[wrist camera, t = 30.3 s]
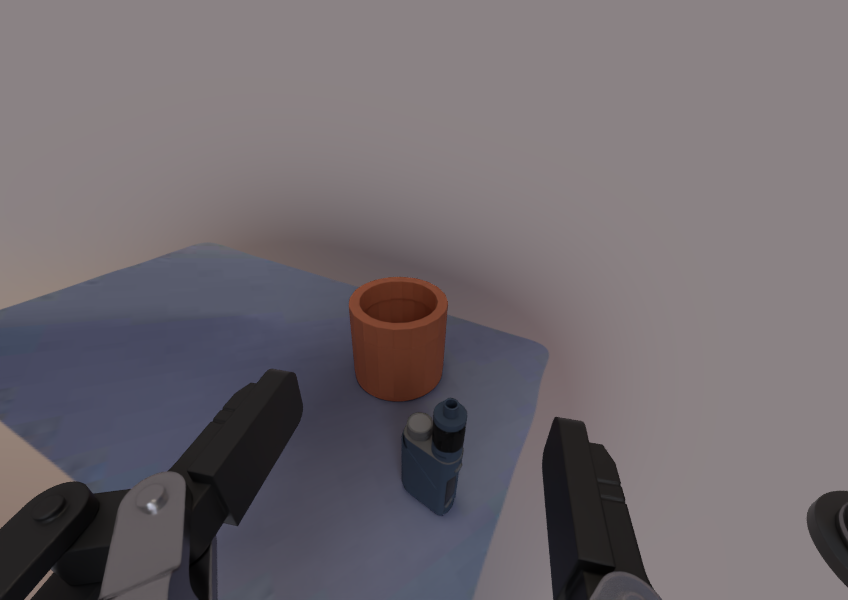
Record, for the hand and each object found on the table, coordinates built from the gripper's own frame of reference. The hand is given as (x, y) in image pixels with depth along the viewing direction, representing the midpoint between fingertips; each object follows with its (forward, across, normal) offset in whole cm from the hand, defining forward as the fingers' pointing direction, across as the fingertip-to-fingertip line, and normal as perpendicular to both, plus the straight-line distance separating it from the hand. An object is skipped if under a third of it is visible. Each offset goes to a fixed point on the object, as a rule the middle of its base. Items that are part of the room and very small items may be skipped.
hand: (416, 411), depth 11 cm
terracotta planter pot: (+25, +7, +22) cm, 34 cm away
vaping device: (+10, +1, +22) cm, 25 cm away
